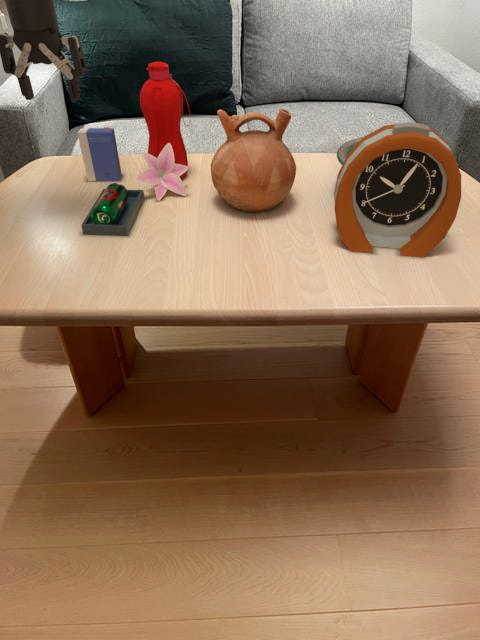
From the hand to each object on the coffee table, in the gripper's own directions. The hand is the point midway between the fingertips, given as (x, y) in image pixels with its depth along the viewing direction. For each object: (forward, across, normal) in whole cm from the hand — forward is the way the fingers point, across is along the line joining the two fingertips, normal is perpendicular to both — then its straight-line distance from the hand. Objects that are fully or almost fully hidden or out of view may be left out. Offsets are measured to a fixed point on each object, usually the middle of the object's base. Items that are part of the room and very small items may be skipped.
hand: (52, 99), depth 87 cm
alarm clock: (+23, -65, +6) cm, 69 cm away
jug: (+23, -37, -9) cm, 45 cm away
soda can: (+20, -8, +8) cm, 23 cm away
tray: (+23, -8, 0) cm, 25 cm away
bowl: (+23, -68, -14) cm, 73 cm away
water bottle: (+23, -17, -21) cm, 35 cm away
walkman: (+23, -1, -17) cm, 29 cm away
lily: (+23, -17, -11) cm, 31 cm away
